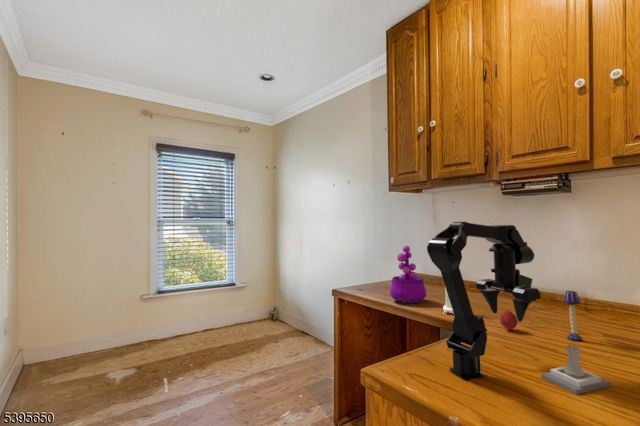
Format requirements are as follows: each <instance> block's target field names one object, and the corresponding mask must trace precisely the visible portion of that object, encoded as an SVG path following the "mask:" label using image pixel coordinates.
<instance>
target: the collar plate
mask: <svg viewBox="0 0 640 426" xmlns="http://www.w3.org/2000/svg"><path fill="white" fill-rule="evenodd" d="M566 366H567V365H564V366H559V367H556V368H555V367H554V368H550V369H549V370H550V371H549V372H545V373H544V372H543V373H541V378H542V379H543V380H546V381H548V382H550V383H552V384H553V385H556V386H558V387H560V388H562V389H564V390H566V391H569V392H570V393H572V394H575V395H578V394H583V393H587V392H591V391H596V390H599V389H603V388H604V389H605V388H608V387H609V388H610V387H611V386H612V382H611V381H610V380H607V379H604V378H602V377H601V376H599V375H597V374H594V373H591V372H589V371H586V370H584V369H582V371H583V372H584V373H585V376H584V377H585V378H583V379H579V380H578V379H575V378H573V377H571V376H568V375H566V374H564V373H565V371H564V369H565V368H566Z"/></svg>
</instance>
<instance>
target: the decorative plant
mask: <svg viewBox="0 0 640 426" xmlns="http://www.w3.org/2000/svg"><path fill="white" fill-rule="evenodd" d="M410 250H411V247H410V246H409V245H407V244H406V245H404V246H402V251H403V252H401V253H398V254H397V257H396V260H397V261H399V262H398V266H397V267H398V269H399V270H401V271H402V272H403V274H400V275H397V276H394V277H392V278H391V285H390V289H389V295H390V296H391V298H392V299H393V300H395V301H398V302H400V301H405V302H415V303H418V302H422V301H424V300H425V298H426V297H427V290H426V287H425V283H424V282H425V281H424V278H423V277H421V276H417V274H416V272H414V271H415V270H416V269H417V265H416V264H415V263H413V262H412V263H411V262H409V260H410V259H411V258H412V257H413V256H412V253H411V252H410ZM417 301H418V302H417ZM405 302H404V303H405Z"/></svg>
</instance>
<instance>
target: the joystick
mask: <svg viewBox="0 0 640 426" xmlns="http://www.w3.org/2000/svg"><path fill="white" fill-rule="evenodd" d="M444 287H445V286H444ZM444 289H445V291H444V292H445V304H444V305H443V306H442V307H443V310H444V312H449V313H448V314H450V313H453V309H452V306H451V303H450V299H449V296H448V293H447V290H446V287H445V288H444ZM444 312H443V313H444ZM453 314H454V313H453Z"/></svg>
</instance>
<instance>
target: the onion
mask: <svg viewBox="0 0 640 426" xmlns="http://www.w3.org/2000/svg"><path fill="white" fill-rule="evenodd" d="M515 315H516V314H514V313H513V312H511V311H510V309H506V310H505V312H503V313H502V314H501V315H500V317H499V322H500V324H501V326H502V327H504V328H505V329H506V331H512V330H514V329H515V328H516V327H517V325H518V319H517V316H515Z"/></svg>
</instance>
